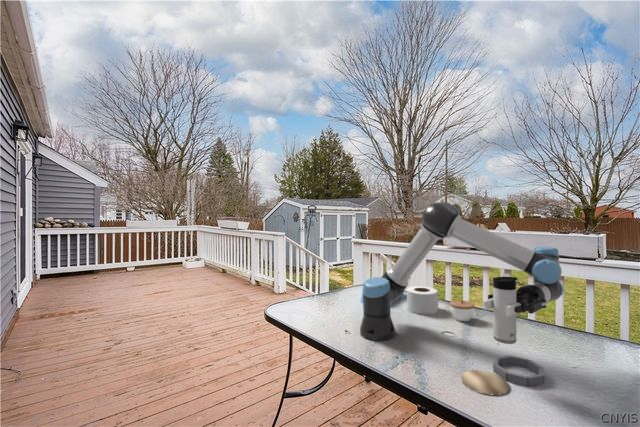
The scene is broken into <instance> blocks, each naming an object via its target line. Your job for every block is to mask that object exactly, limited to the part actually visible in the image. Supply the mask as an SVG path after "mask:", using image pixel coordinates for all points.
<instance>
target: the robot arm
mask: <svg viewBox="0 0 640 427" xmlns="http://www.w3.org/2000/svg"><path fill="white" fill-rule="evenodd" d="M445 238H447V239H450V238H453V239H456V240H458V241H460V242H462V243H464V244H466V245H468V246H470V247H472V248H475V249H477V250H479V251H481V252H483V253H485V254H487V255H489V256H491V257H493V258H495V259H498V260H500V261H501V262H504V263H505V264H508V265H510V266H512V267H514V268H517V269H519V270H520V271H522V272H525V273H526V274H528V275H530V276H532V277H533V279H532V283H528V284H525V285H521V286H519V287H518V288H517V289H516V303H515V304H512V305H510V306H507V307H506V316H511V315H514V314H516V315H517V314H519V313H526V312H527V313H528V314H535V313H536V312H537V311H540V310H542V309H545V308H547V304H549V302H554V301H557V300H559V298H561V297H562V296H563V295H564V292H565V289H564V285H563V284H562V283H561V282H560V279H561V276H562V273H563V272H562V267H561V266H560V255H559V250H558V248H556V247H552V246H551V247H550V246H536V247H534V248H533V250H532V249H530V248H527V247H525V246H524V245H523V246H522V245H520V244H518V243H516V242H513V241H512V240H509V239H508V238H505V237H503V236H500V235H498V234H496V233H495V232H491V231H489V230H487V229H485V228H482V227H481V226H478V225H476V224H474V223H471V222H469V221H467V220H464V219H462V216H461V215H460V212H459V210H458V209H457V207H456V206H455V205H453V204H451V203H449V202H446V201H441V202H434V203H433V202H432V203H430V204H428V205H427V206H426V207H425V208H424V210H423V212H422V220H421V221H420V229H419V231H418V232H417V233H416V234H415V236H414V237H413V238H412V240H411V241H410V243H409V244H408V246H407V247H406V248H405V249H404V251H403V252H402V254H401V255H400V256H399V258H398V259H397V261H396V262H395V264H393V266H392V267H390V268H387V269H386V270H385V271H384V273H383V274H382V276H381V277H379V276H377V277H376V276H375V277H370V278H367V279H365V280H364V281H363V284H362V291H363V304H362V306H363V307H362V308H363V311H362V312H363V317H362V320H361V323H360V327H359V334H360V336H362V337H363V336H364V337H363V338H365V337H366V338H365V339H367V338H369V339H368V340H371V339H375V340H374V341H386V340H387V339H388V340H391V339H392V337H393V338H394V337H395V336H396V328H395V325H394V322H393V319H392V317H391V316H392V315H391V305H392V304H393V302H395V301H397V300H398V299H401V296H402V295H404V292H405V290H406V289H407V288H408V286H409V279H410V278H411V276H412V275H413V273H414V272H415V271H416V270H417V268H418V267H419V265H420V264H421V263H422V261H423V260H424V259H425V258H426V256H427V255H428V254H429V252H430V251H431V250H432V248H433V247H434V246H435V244H436V243H437V242H438V241H439V240H444V239H445ZM362 291H361V292H362ZM391 303H392V304H391ZM390 304H391V305H390ZM482 307H483V310H484V311H488V310H490V309H493V293H490V294H488V295H487V299H485V300H483V306H482ZM390 338H391V339H390ZM388 340H387V341H388Z"/></svg>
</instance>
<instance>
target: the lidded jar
mask: <svg viewBox="0 0 640 427" xmlns="http://www.w3.org/2000/svg"><path fill="white" fill-rule="evenodd" d="M449 306H450V313H451V315H452V316H453V318H455V320H456V321H458V322H462V321H464V322H465V321H467V322H470V320H471V319H472V318H473V317H474V314H475V303H474V302H471V301H469V300H463V299H460V300H459V299H456V300H451V301H450V302H449Z"/></svg>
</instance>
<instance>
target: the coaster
mask: <svg viewBox="0 0 640 427" xmlns="http://www.w3.org/2000/svg"><path fill="white" fill-rule="evenodd" d="M460 378H461V379H462V380H461V382H462V381H463V382H462V384H463V383H464V384H465V385H466V386H465V385H464V384H463V385H464V386H465V387H467V386H468V387H469V388H471V389H473V390H476V391H479V392H482V393H487V394H493V395H492V396H500V395H499V394H503V395H505V394H506V392H507V391H508V392H509V391H510V390H509V389H510V388H509V387H510V386H509V383H508V381H506V380H504V379H503V378H502V377H500V376H499V375H497V374H496V373H494V372H490V371H487V370H480V369H472V370H471V369H470V370H467V371H464V372H462V374H461V377H460ZM468 387H467V388H468ZM469 388H468V389H469ZM471 389H470V390H471ZM473 390H472V391H473ZM508 392H507V393H508ZM504 393H505V394H504Z"/></svg>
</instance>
